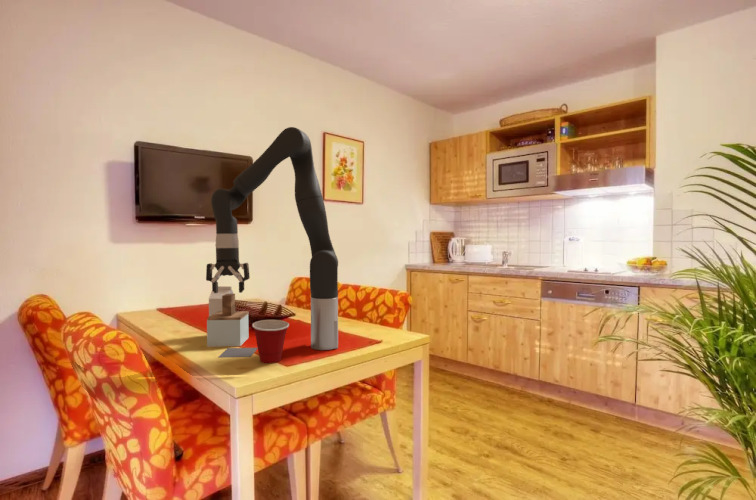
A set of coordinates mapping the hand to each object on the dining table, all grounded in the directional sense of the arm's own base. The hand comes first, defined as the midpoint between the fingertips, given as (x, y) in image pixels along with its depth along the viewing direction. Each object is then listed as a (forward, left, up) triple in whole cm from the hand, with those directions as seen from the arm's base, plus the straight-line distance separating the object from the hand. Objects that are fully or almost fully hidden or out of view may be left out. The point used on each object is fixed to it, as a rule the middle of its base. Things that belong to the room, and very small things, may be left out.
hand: (228, 292), depth 139 cm
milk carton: (+5, -10, -18) cm, 22 cm away
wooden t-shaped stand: (0, 0, -9) cm, 9 cm away
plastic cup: (-19, +22, -18) cm, 34 cm away
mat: (-7, +13, -18) cm, 23 cm away
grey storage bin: (0, 0, -18) cm, 18 cm away
